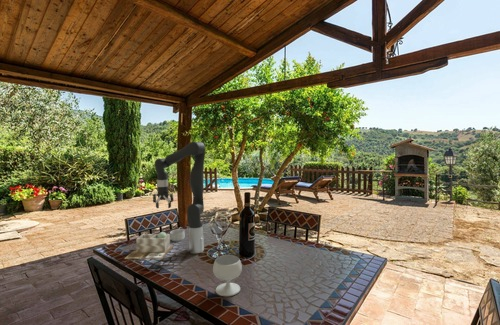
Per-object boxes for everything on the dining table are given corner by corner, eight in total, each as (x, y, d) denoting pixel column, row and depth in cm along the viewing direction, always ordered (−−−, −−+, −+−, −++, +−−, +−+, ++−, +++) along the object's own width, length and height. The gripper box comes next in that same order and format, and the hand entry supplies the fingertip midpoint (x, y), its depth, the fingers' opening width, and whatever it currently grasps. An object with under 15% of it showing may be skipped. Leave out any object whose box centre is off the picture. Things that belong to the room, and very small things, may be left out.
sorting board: (174, 247, 179) (174, 233, 178) (162, 261, 156) (161, 244, 155) (140, 247, 180) (140, 233, 179) (123, 261, 157) (122, 245, 156)
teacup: (182, 243, 187) (182, 232, 186) (168, 243, 187) (167, 233, 187) (187, 237, 201) (187, 227, 200) (174, 237, 201) (173, 227, 201)
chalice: (207, 290, 121) (207, 260, 121) (229, 279, 131) (229, 251, 130) (225, 302, 111) (225, 269, 111) (248, 289, 121) (247, 259, 120)
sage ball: (161, 243, 173) (169, 237, 176) (160, 241, 168) (168, 235, 171) (156, 237, 175) (163, 231, 178) (155, 235, 170) (162, 229, 172)
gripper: (174, 185, 184) (174, 206, 185) (155, 185, 185) (156, 207, 185) (170, 186, 177) (171, 209, 177) (150, 186, 177) (151, 209, 178)
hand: (163, 208), depth 181 cm, fingers open, 8 cm apart
